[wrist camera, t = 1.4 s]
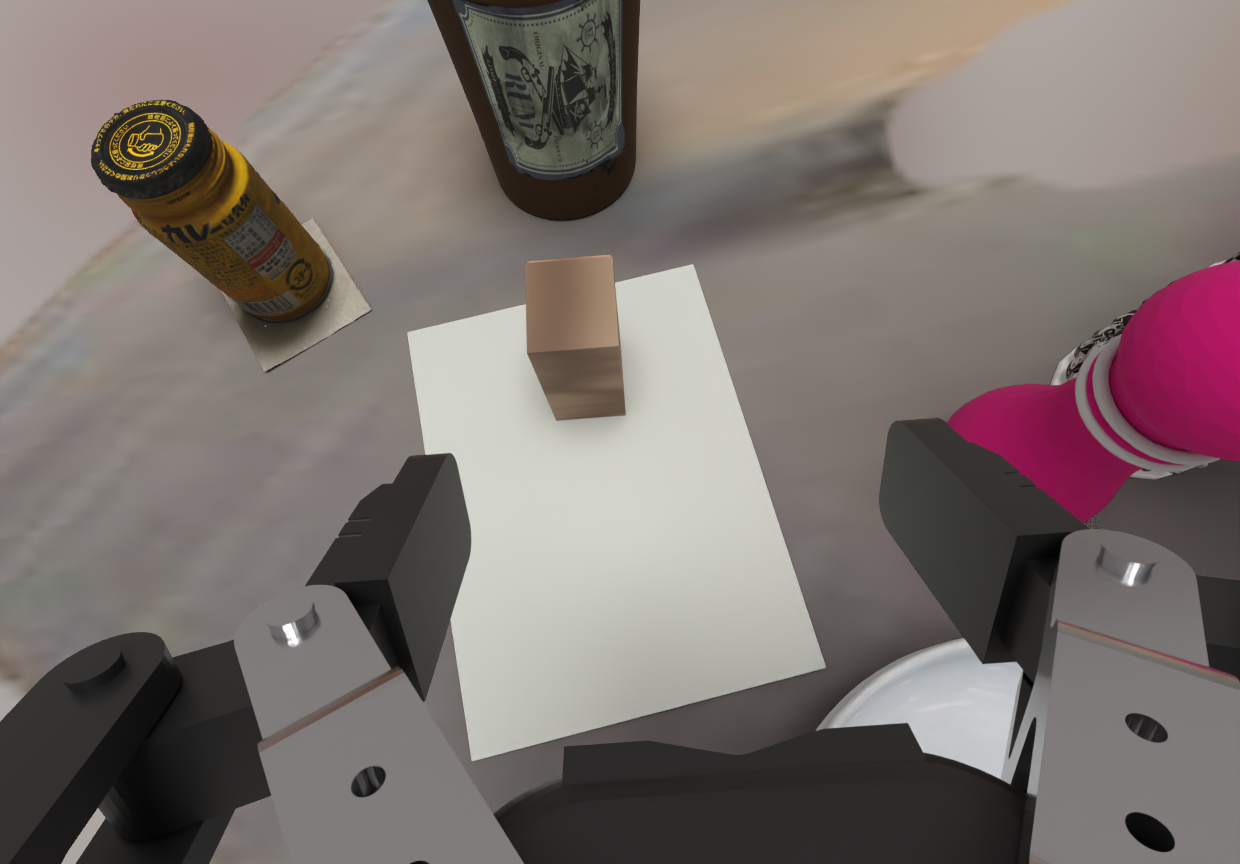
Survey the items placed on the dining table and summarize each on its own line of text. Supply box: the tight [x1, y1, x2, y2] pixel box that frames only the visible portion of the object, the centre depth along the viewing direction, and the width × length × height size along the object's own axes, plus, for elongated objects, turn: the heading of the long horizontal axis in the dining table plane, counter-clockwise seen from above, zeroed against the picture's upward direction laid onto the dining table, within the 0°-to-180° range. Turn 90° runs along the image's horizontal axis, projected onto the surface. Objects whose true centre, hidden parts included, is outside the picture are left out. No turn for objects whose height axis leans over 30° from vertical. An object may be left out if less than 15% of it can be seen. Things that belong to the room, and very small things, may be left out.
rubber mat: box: [407, 264, 826, 761], centre depth 34 cm, size 18×24×1 cm
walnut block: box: [525, 255, 626, 421], centre depth 31 cm, size 4×5×9 cm
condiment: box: [91, 100, 371, 372], centre depth 33 cm, size 7×8×12 cm
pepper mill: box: [947, 261, 1240, 523], centre depth 24 cm, size 7×7×20 cm
